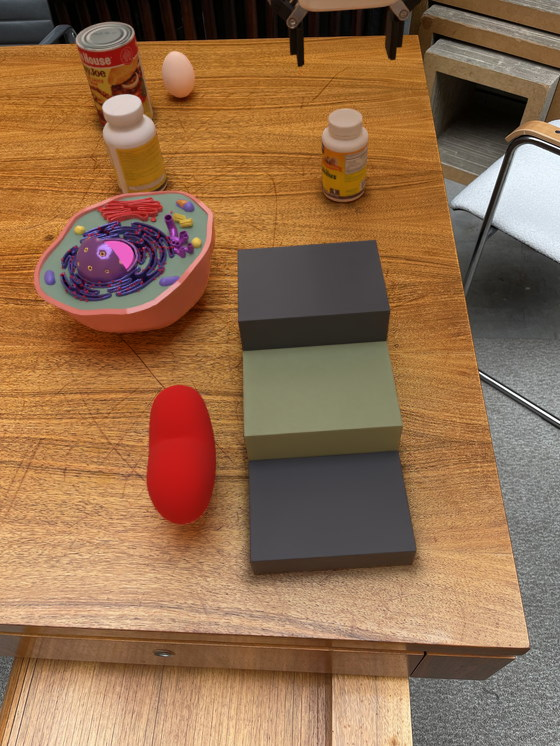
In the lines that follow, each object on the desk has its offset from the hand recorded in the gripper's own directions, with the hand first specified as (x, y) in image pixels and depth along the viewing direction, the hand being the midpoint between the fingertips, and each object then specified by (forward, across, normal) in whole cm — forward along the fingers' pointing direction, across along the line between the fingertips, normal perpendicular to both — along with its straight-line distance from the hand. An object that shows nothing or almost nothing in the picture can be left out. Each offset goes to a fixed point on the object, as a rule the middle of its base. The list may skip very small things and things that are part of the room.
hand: (345, 57), depth 68 cm
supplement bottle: (+17, 0, 0) cm, 17 cm away
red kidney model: (+17, -17, -41) cm, 48 cm away
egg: (+18, -22, +26) cm, 38 cm away
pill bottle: (+18, -26, +4) cm, 31 cm away
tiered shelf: (+17, -6, -36) cm, 40 cm away
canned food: (+18, -30, +21) cm, 40 cm away
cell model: (+17, -24, -17) cm, 34 cm away
